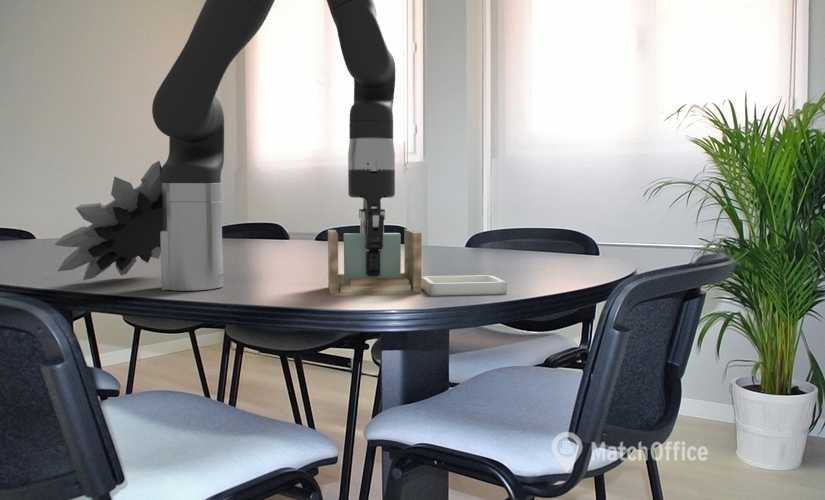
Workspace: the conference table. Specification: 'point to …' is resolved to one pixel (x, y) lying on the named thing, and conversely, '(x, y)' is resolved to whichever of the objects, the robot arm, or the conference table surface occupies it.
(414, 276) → the rack
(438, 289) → the tray
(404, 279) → the offcut stack
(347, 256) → the sheet
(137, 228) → the decorative piece
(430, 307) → the conference table surface
